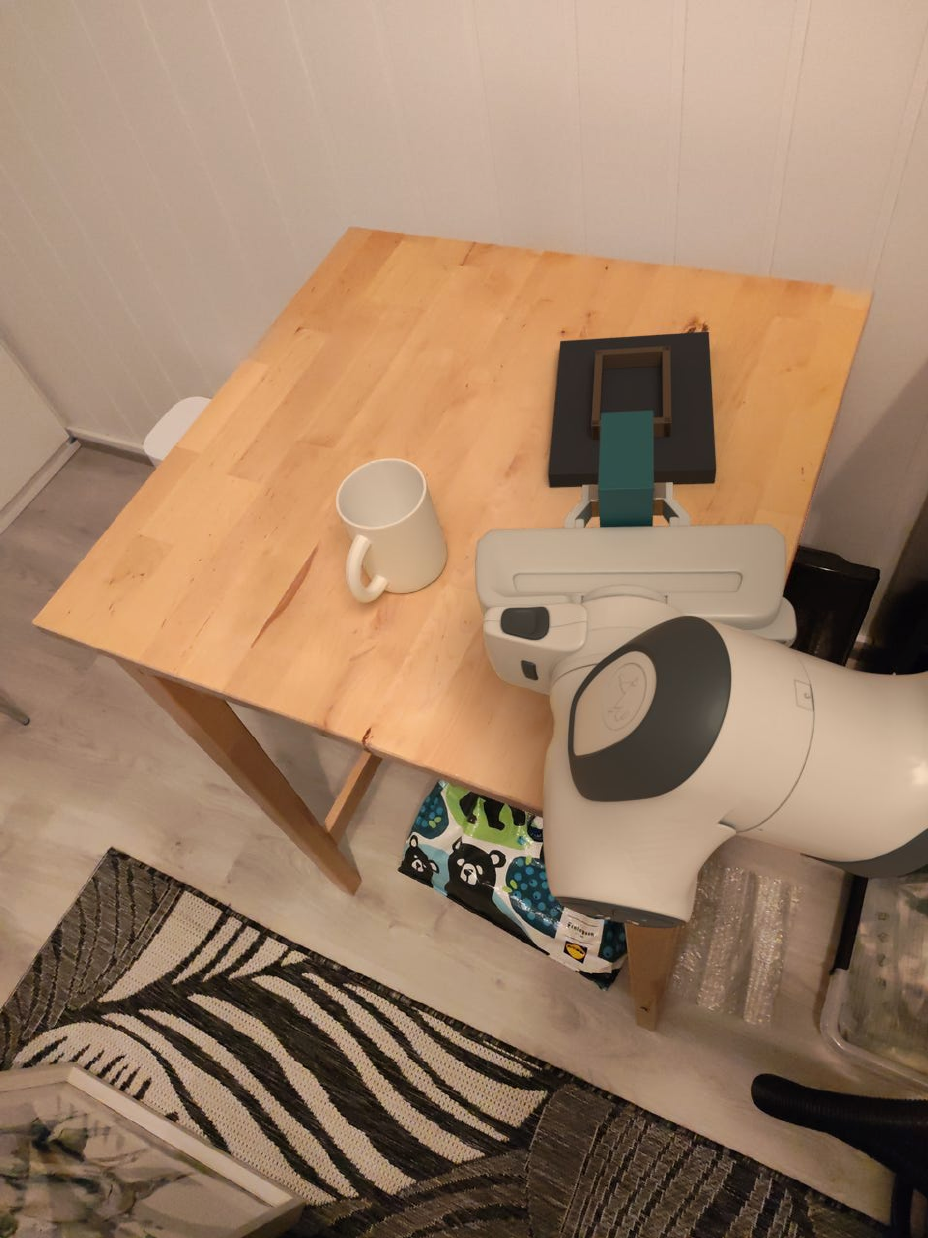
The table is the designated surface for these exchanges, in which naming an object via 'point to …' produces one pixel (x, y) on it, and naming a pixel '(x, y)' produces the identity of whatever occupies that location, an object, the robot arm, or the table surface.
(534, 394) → the table surface
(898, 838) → the robot arm
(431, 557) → the mug
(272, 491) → the table surface
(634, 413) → the back pad
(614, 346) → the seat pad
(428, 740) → the table surface
